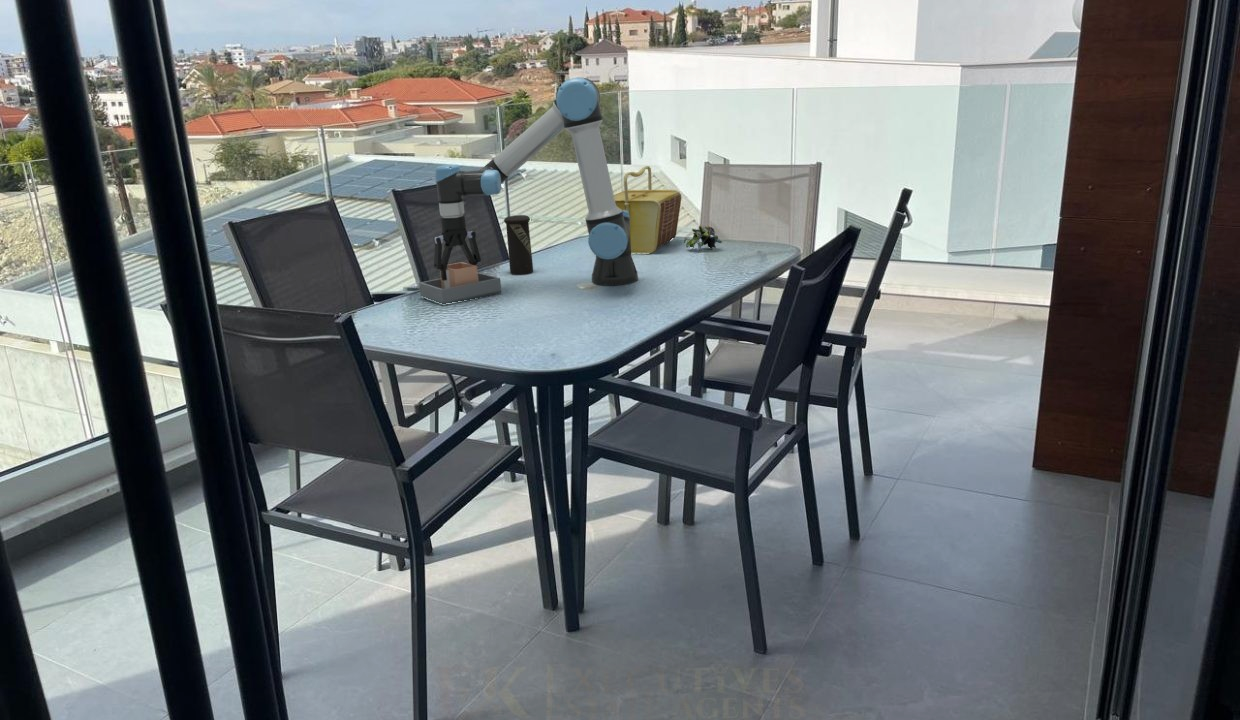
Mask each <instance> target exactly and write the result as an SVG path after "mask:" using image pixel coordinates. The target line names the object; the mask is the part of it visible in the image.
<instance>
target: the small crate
mask: <svg viewBox="0 0 1240 720" xmlns="http://www.w3.org/2000/svg"><path fill="white" fill-rule="evenodd" d="M447 270H449V276H450V285H451V287H456V286H461V285H466V284H471V283H476V282H479V280H478V265H476V266H475V265H471V264H470V263H466V262H464V261H463V262H462V261H461V262H455V263H448V265H447ZM439 276H440V277H441V271H440V270H439ZM440 279H441V278H440ZM441 285H442V289H445V285H444V280H442V279H441Z"/></svg>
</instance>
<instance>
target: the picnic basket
mask: <svg viewBox="0 0 1240 720" xmlns="http://www.w3.org/2000/svg"><path fill="white" fill-rule="evenodd" d="M646 170H647V178H648V179H647V181H648V182H647V184H648V185H647V186H648V189H628V187H629V186H628V177H629V176H631V177H635V178H637V177H641V176H642V175H643V174H644V173H645V171H646ZM614 199H615V203H616V206H617V207H618V208H620V209H621V210H626V211H628V212H629V217H630V239H631V253H651V254H652V253H654V252H655V251H656V250H657V249H658V248H659V249H660V247H662V246H664V245H666V244H667V243H669V242H668V241H670V240H671V239H672V238H674V239H675V238H676V237H677V231H678V224H679V218H680V210H681V204H682V203H681V202H682V193H680V191H678V190H676V189H653V187H652V169H651V167H650V166H649V165H646V166H644V167H641V169H640V170H638V171H637V172H633V171H628V172H626V173H625V174H624V176H623V191H621V192H619V193H615V194H614ZM670 242H671V241H670Z"/></svg>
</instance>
